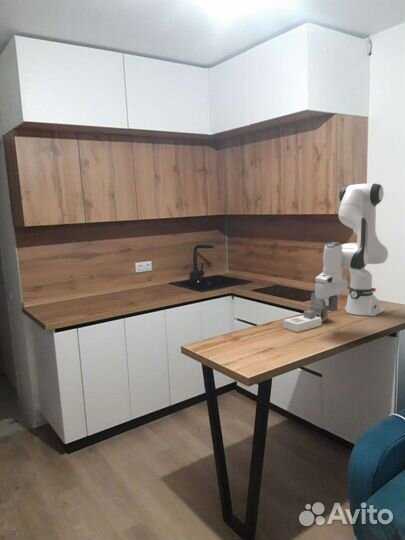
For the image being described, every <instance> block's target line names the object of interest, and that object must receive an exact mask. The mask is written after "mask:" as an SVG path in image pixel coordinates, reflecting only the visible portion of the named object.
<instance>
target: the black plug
mask: <svg viewBox="0 0 405 540" xmlns="http://www.w3.org/2000/svg"><path fill="white" fill-rule="evenodd" d="M328 300H329V302H330V305H329V306H326V305H325V310H328V312H329V311H330V312H335V311H338V303H339V302H338V300H339V298H338V296H336V295H335V296H331V297H329V299H328Z"/></svg>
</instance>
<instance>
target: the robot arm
mask: <svg viewBox="0 0 405 540" xmlns="http://www.w3.org/2000/svg"><path fill="white" fill-rule="evenodd" d="M383 197H384V188H383V186H382V185H381V184H379V183H356V184H347V185H343V186H342V187H341V188H340V190H339V193H338V198H339V201H340V204H339V205H340V206H339V208H338V209H339V210H338V220H339V221H340V222H341V223H342V224H343V225H344V226H345V227H348V228H350V229H351V230H353V233H354V234H355V236H357V237H356V242H348V243H343V244H342V243H341V242H339V241H329V242H327V243H325V244H324V248H323V256H322V262H323V268H322V272H321V273H320V274H318V275H317V276H316V277H315V282H316V283H315V284H314V285H315V286H314V290H315V296H316V298H320V299H323V298H324V300H325V305H326V306H329V305H330V302H329V300H328V299H329V297H331V296H335V295H336V296H338V299H339V298H340V295H342V294H345V293H347V292H348V290H349V292H348V293H349V294H348V295H347V300H346V306H345V307H344V310H345V311H346V313H348V314H351V315H357V316H372V317H376V316H378V315H379V314H381V313H383V312H384V311H385V309H384V308H382V307H380V306H381V301H380V299H379V298H377V297H376V295H374V292H376V291H377V288H375V287H372V283H373V274H372V273H371V271H369V270H367V269H366V268H365V267H366V266H367V265H368V264H370V265H380V264H384V263H385V262H386V261H387V259H388V256H389V252H388V251H389V250H388V249H387V247H386V246H385V245H383V243H382V242H381V241H380V240H379V238H378V236H377V232H376V219H377V211H376V210H377V205H378V204H380V203H381V202H382V200H383V199H384V198H383ZM344 268H346V269H348V270H349V274H350V286H349V288H348V280H347V276H346V274H344V273H343V269H344Z"/></svg>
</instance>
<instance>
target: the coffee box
mask: <svg viewBox="0 0 405 540" xmlns="http://www.w3.org/2000/svg"><path fill="white" fill-rule="evenodd" d="M309 304H310V308H309V310H311V311H314V312H315V316H317V317H320V318H322V323H323V322H325V321H326V320H328V318H329V317H328V315H329V311H328V310H325V300H324V298H323V299H320V298H316V296H315V289H312V290H311V291H310V303H309Z"/></svg>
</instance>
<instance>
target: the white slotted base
mask: <svg viewBox="0 0 405 540" xmlns="http://www.w3.org/2000/svg"><path fill="white" fill-rule="evenodd" d="M322 323H323V322H322V318H320V317H317V316H315V312H314V311H311V310H310V309H308V310H304V311H303V314H302V315H298V316H294V317H291V318H286V319H283V325H282V328H283V329H285V330H289V331H292V332H294V333H299V332H304V331H306V330H310V329H313V328H314V329H315V328H317V327H321V326H322Z"/></svg>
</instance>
